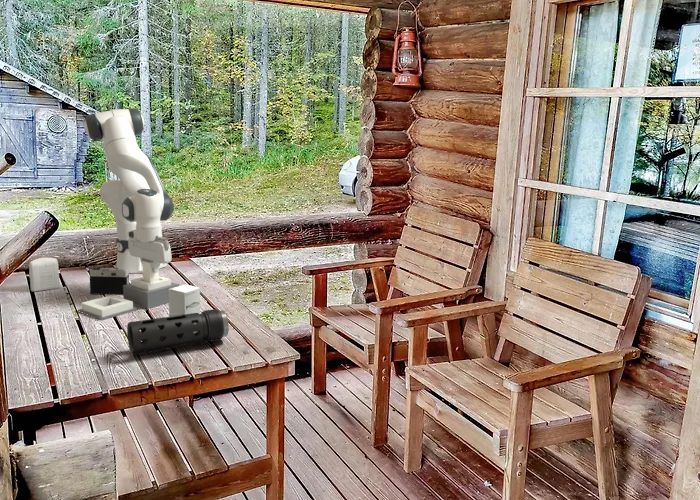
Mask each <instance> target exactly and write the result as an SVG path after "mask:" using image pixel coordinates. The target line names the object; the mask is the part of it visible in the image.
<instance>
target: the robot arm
mask: <svg viewBox="0 0 700 500" xmlns="http://www.w3.org/2000/svg"><path fill="white" fill-rule="evenodd" d="M144 118H145V117H144V116H143V115H142V113H141V111H140V110H139V109H137V108H133V107H132V108H131V107H129V108H120V109H119V108H118V109H117V108H116V109H111V110H106V111H101V112H96V113H94V112H93V113H91V114H88V115H86V116H85V119H84V131H85V133H86V134H87V136H88V137H89V139H91V140H92V141H96V142H97V141H99V142H101V141H103V148H104V149H103V150H104V154H105V156H106V157H105V158H106V162H107V167H108V170H109V172H111V173H112V174H113V175H114V176H116V177H117V178H118V179H113V180H107V181H105V182H103V183H102V185H101V186H100V190H99V194H100V198H101V200H102V201H103V202H104V203H105V204H106V205H107V206H108V208H109V209H110V211H111V212H112V214H113V217H114V220H115V225H116V250H117V256H116V264H115V269H116V267H118V269H129V274H138V273H139V274H143V266H142V258H144V259H148V260H151V261H154V264H155V265H154V268H152V272H154V273H158V272H159V273H160V269H162V268H164V267H165V268H166V267H168V264H169V263H171V262H172V259H173V258H172V257H173V256H172V250H171V246H170V245H171V244H170V242H169V241H168V239H167V238H166V237H163V229H162V227H163V226H162V222H163V221H165V222H166V221H167V220H168V219H170V218H171V217H172V215H173V213H174V211H175V206H174V202H173V200H172V198H171V197H170V195H169V193H168V192H167V191H166V189H165V186H164V183H163V182H162V179H161V177H160V175H159V172H158V170H157V168H156V167H155V164H154V162H153V161H152V159H151V158H150V156H148V155H146V154H145V153H144V152H143V151H142V150H141V149H140V146H139V144H138V141H137V138H136V136H138V135H140V134H141V133H143V131H144V128H145V119H144ZM161 221H162V222H161Z"/></svg>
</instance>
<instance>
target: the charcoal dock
mask: <svg viewBox="0 0 700 500" xmlns="http://www.w3.org/2000/svg"><path fill="white" fill-rule="evenodd" d="M178 286H180V284H179V283H176V282H172V279H171V278H168V277H163V276H160V275H159V281H155V282H151V283H148V282H145V281H143V276H142V277H137V278H134V279H130V283H129V284H127V285H123V293H124V295H123V299H126V300H129V301H132V302H133V306H134V305H135V306H138V307H141V308H144V309H147V310H149V309H148V308H150V309H153V308H155V307H159V306H163V305H167V304H169V289H171V288H174V287H178Z"/></svg>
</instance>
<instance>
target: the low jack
mask: <svg viewBox="0 0 700 500" xmlns="http://www.w3.org/2000/svg"><path fill="white" fill-rule="evenodd" d="M80 305H81V308H80V309H77V312H78V311H80V312H83V313H85V314H84V315H86V314H88V315H90V316H89V317H91V316H92V318H94V317H95V318H94V319H96V320H100V321H104V320H108V319H111V318H114V317H117V316H118V317H119V316H120V315H121V316H122V315H124V314H129V313H130V312H135V311H138V308H137V307H134V304H133V302H132V301H129V300H126V299H124V297H123V298H122V297H119V296H117V295H113V294H109V295H107V296H104V297H99V298H95V299H90V300H88V301H83V302H81V304H80ZM80 312H79V313H80ZM83 313H82V314H83ZM88 315H87V316H88Z"/></svg>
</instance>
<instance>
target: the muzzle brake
mask: <svg viewBox="0 0 700 500" xmlns="http://www.w3.org/2000/svg"><path fill="white" fill-rule="evenodd" d="M229 329H230V327H229V319H228V315H227V312H226V311H225V310H223V309H222V310H219V309H217V308H213V309H212V308H211V309H206V310H204V311H201V312H200V314H199V313H191V314H184V315H177V316H170V317H169V316H165V317H164V316H163V317H158V318H157V317H156V318H150V319H143V320H135V321H128V323H127V328H126V331H127V332H126V333H127V334H126V335H127V341H128V342H127V343H128V348H129V350H130V353H131V354H132V355H133V356H139V355H143V354H144V355H145V354H149V353H155V352H163V351H166V350H168V349H176V347H180V346H187V345H192V344H193V345H194V347H195V346H200V345H201V346H202V345H206V343H207V342H215V341H220V340H221V339H223V338H225V337H227V336H228V334H229Z"/></svg>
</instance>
